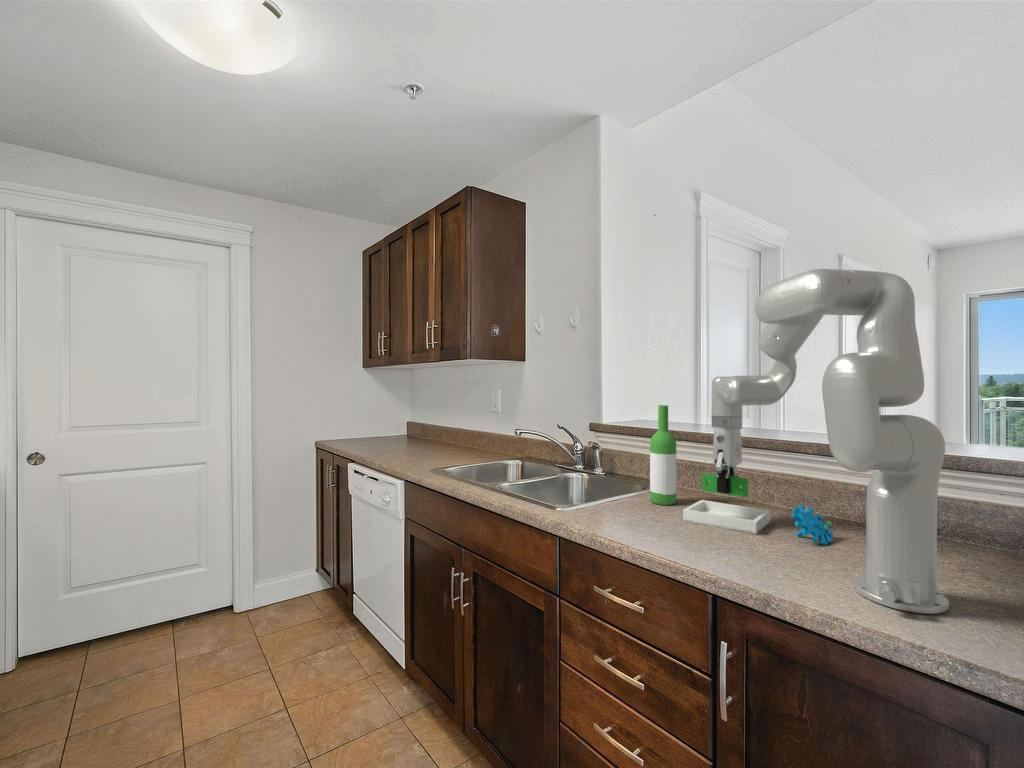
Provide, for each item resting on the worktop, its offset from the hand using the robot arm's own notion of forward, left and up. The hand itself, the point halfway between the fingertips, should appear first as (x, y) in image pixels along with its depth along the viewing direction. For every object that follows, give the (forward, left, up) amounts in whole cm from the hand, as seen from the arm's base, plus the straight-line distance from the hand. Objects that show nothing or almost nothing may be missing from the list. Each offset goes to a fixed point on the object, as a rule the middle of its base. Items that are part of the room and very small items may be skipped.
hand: (726, 490), depth 129 cm
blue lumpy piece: (-3, -20, -9) cm, 22 cm away
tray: (0, 0, -8) cm, 8 cm away
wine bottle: (+8, +21, -8) cm, 24 cm away
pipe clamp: (0, 0, -1) cm, 1 cm away
